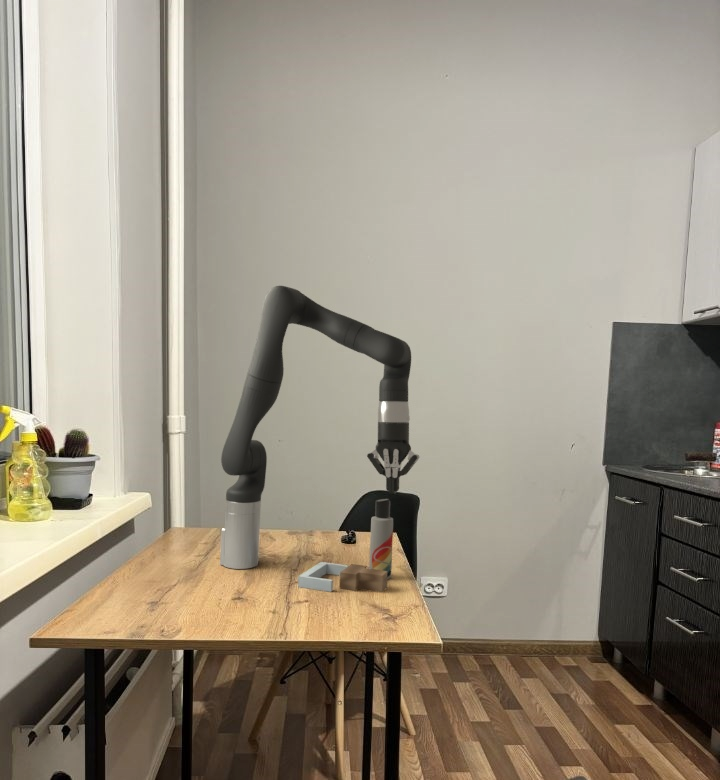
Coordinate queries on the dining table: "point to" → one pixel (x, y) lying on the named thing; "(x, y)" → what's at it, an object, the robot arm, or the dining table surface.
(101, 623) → the dining table surface
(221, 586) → the dining table surface
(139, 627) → the dining table surface
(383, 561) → the lotion bottle
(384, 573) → the t block
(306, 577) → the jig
